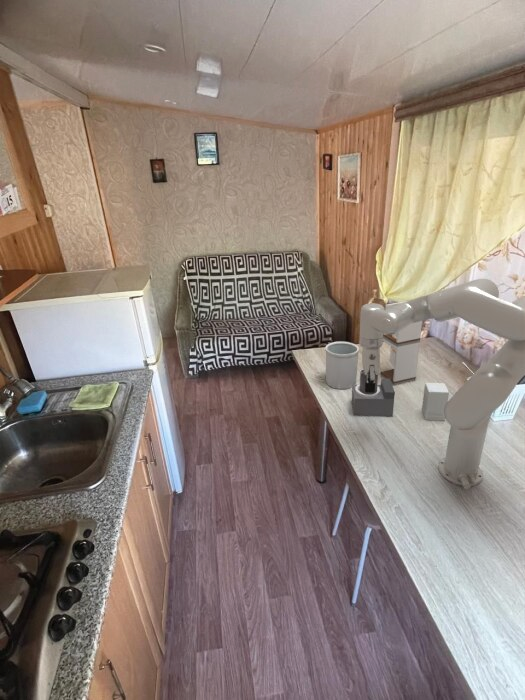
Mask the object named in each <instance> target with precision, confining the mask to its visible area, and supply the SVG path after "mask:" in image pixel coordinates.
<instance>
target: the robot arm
mask: <svg viewBox="0 0 525 700" xmlns="http://www.w3.org/2000/svg"><path fill="white" fill-rule="evenodd" d="M499 297H500V290H499V287H498V286H497V284H496V283H495V282H494V281H492V280H491V279H487V278H477V279H474V280H469V281H468V282H464V283H461V284H458V285H455V286H452V287H448V288H445V289H442V290H439V291H436V292H433V293H429V294H426V295H423V296H419V297H416V298H413V299H410V300H406V302H405V301H402V302H403V303H400V304H398V305H396V306H394V307H392V308H390V309H388V310H385V306H383V305H382V304H380V303H373V302H371V303H366V304H365V303H364V305H362V306H361V308H360V318H359V319H360V320H359V341H358V342H359V347H361V348H362V351H361V352H362V353H361V360H362V361H361V362H362V368H363V369H362V370H364V373H365V375H366V382H365V392H366V393H374V392H375V373H376V375H378V376H379V375H380V374H381V369H380V368H381V367H380V366H381V348H382V347H383V345H384V344H383V343H384V341H383V333H385V334H388V335H393V334H396V333H397V332H399V331H400V330H402V329H403V328H405V327H406V326H408V325H410V324H412V323H416V322H419V321H422V322H423V321H426V320H431V319H432V320H433V319H434V320H435V321H436V322H440V323H443V322H447V321H451V320H453V319H457V318H460V319H462V320H463V321H465V322H467V323H469V324H471V325H474V326H476V327H478V328H480V329H482V330H485V331H487V332H488V333H491V334H493V335H496V336H498V337H501V338H502V339H505V340H507V341H505V343H503V345H502V346H501V348H500V349H499V350H498V351H497V352H496V353H494V355H493V356H492V357H491V358H489V360H487V361H486V362H485V363H483V364H482V365H481V366H480V367H478V369H477V370H476V371H475V372H474V373H473V374H472V375H471V376H470V378H468V380H466V382H465V383H464V384H463V385H462V386H461V387H460V388H459V389H458V390H457V391H456V392H454V394H453V395H452V397H450V398H449V399H448V402H447V403H446V405H445V408H444V415H445V420H446V422H447V423H448V424H449V425H450V429H449V434H448V439H447V445H446V451H445V457H444V458H442V459H441V460H440V461H439V462H438V471H439V473H440V475H441V476H442V477H443V478H444V479H445V480H447V481H448V482H449V483H450V482H451V483H452V484H455V485H458V486H462V487H463V488H464V489H465V490H469V489H470V488H471V487H473V486H477V485H479V484H480V483H481V482H482V481H483V479H484V473H483V472H484V471H483V470H482V469H481V467H480V463H481V459H482V454H483V451H484V444H485V441H486V436H487V431H488V428H489V423H490V420H491V418H492V414H493V413H494V412H495V411H496V410H498V408H499V407H501V406H502V405H503V403H505V402H506V400H507V399H508V398H509V397H510V395H511V393H512V392H513V391H514V389H515V388H516V386H517V385H518V383H519V382H520V381H521V380H522V379H523V377H525V295H522V296H520V297H519V298H517V299H514V300H513V302H510V301H507V300H505V299H502V298H499ZM368 372H370V374H368ZM368 376H370V378H369V379H368Z"/></svg>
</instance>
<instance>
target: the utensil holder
mask: <svg viewBox="0 0 525 700" xmlns="http://www.w3.org/2000/svg"><path fill="white" fill-rule="evenodd" d="M324 350H325V382H326V384H327V385H328V386H329V387H330V388H333V389H337V390H346V389H352V385H357V384H356V383H357V377H358V376H357V375H358V374H357V373H358V365H359V364H358V361H359V360H358V359H359V352H360V346H358V345H357V344H355V343H353V342H349V341H334V342H329V343H327V344H326V345H325V347H324Z"/></svg>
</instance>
